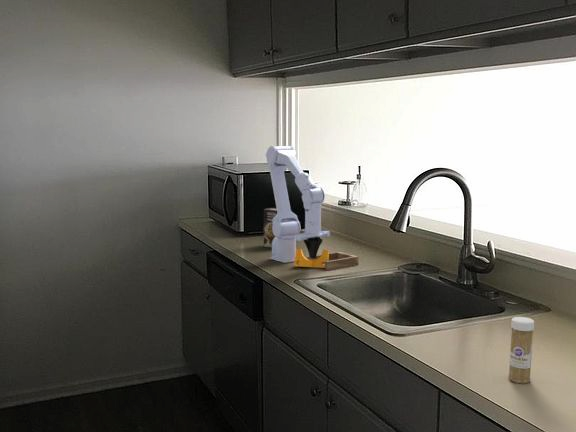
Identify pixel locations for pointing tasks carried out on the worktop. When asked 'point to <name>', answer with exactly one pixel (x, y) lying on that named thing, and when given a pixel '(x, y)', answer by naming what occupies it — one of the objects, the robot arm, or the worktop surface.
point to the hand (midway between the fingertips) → (312, 258)
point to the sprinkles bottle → (521, 349)
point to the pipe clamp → (310, 263)
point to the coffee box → (269, 226)
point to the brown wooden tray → (338, 260)
